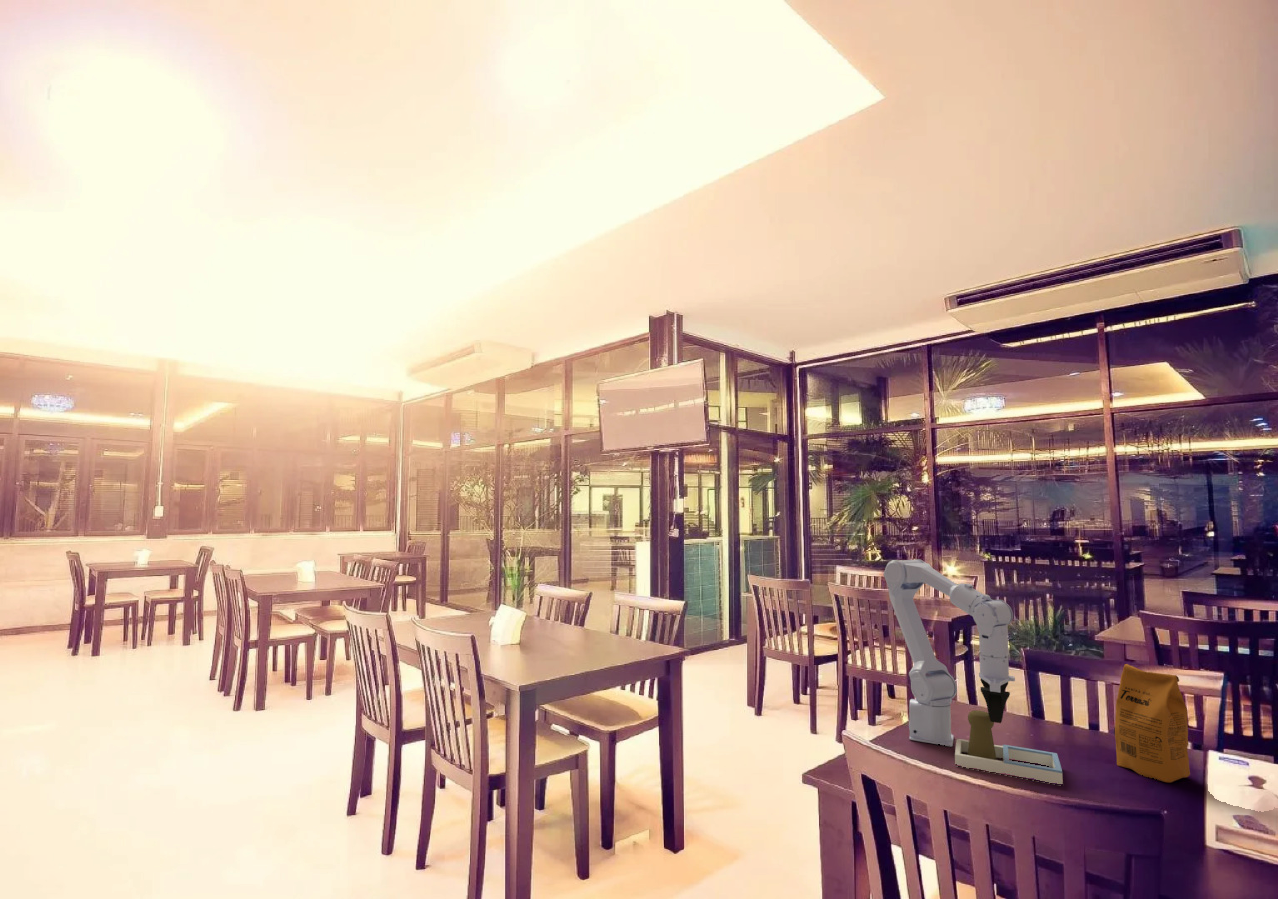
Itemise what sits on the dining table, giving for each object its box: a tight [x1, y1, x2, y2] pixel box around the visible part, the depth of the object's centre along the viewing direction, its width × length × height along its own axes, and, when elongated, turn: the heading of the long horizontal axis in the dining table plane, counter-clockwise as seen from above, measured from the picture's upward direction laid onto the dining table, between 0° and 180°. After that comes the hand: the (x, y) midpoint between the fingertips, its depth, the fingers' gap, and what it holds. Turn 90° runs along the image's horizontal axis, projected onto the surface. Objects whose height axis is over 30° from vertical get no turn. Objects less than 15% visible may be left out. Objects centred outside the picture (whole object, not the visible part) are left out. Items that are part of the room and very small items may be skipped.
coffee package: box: [1114, 663, 1191, 783], centre depth 142 cm, size 10×12×22 cm
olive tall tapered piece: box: [967, 709, 998, 760], centre depth 145 cm, size 6×6×11 cm
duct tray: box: [954, 738, 1064, 785], centre depth 143 cm, size 20×11×3 cm, turn 62°
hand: (995, 717), depth 144 cm, fingers open, 7 cm apart
